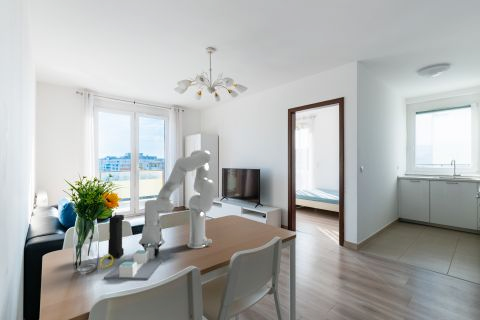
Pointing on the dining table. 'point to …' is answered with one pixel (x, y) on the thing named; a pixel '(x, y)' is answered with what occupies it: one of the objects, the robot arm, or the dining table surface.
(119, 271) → the board
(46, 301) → the dining table surface
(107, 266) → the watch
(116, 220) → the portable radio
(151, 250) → the module block
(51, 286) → the dining table surface
